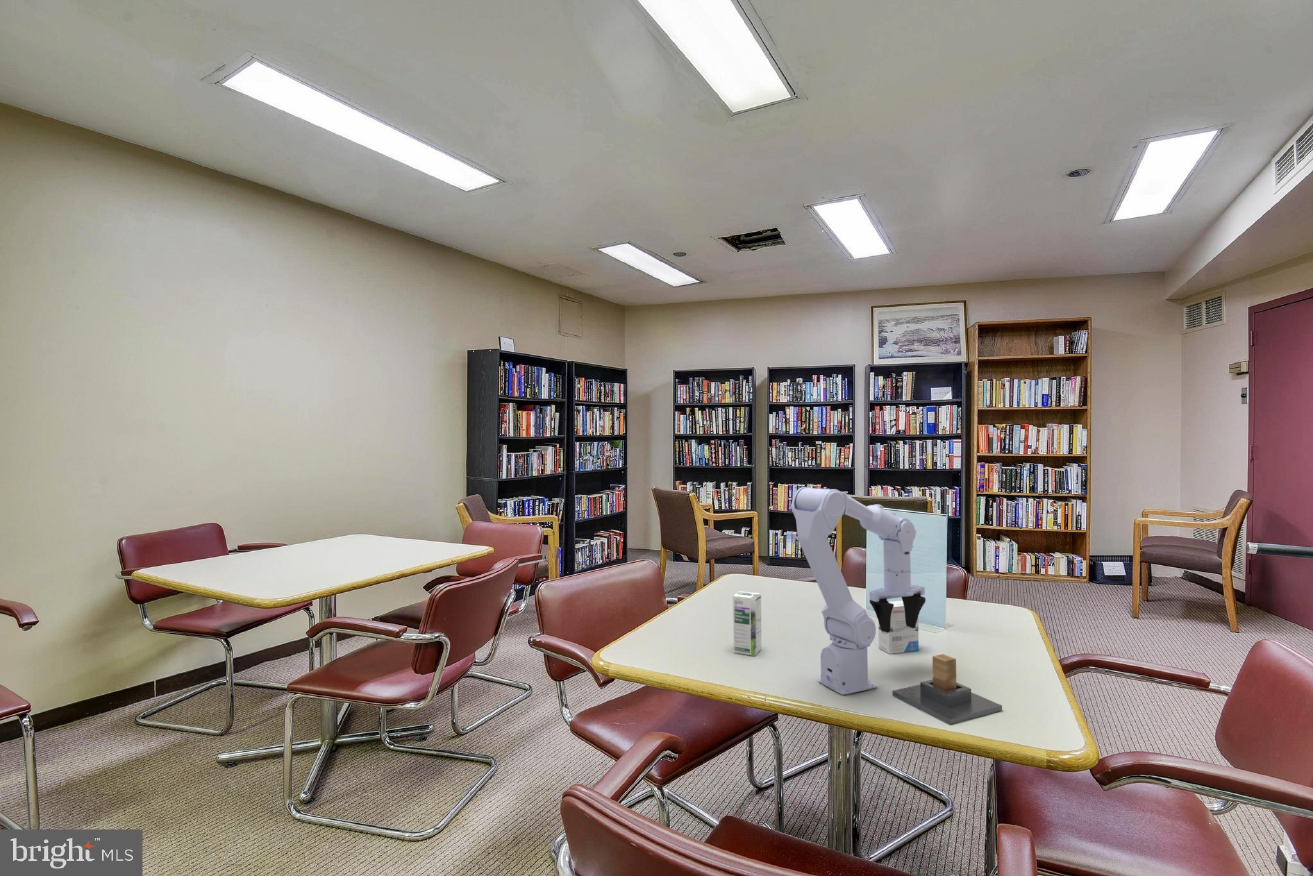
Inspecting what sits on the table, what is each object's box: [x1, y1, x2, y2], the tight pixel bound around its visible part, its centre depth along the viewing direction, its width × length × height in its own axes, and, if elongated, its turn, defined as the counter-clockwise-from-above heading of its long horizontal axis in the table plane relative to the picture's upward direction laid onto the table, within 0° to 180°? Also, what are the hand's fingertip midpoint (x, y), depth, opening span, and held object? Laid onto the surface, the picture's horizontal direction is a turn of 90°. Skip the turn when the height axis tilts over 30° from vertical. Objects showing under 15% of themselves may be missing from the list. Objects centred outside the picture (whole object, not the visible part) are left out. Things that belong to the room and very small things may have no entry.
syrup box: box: [732, 590, 762, 657], centre depth 150 cm, size 6×6×14 cm
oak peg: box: [932, 653, 957, 692], centre depth 119 cm, size 3×3×8 cm
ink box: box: [878, 599, 920, 655], centre depth 150 cm, size 9×5×12 cm, turn 106°
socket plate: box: [891, 678, 1003, 725], centre depth 119 cm, size 14×14×4 cm
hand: (898, 629), depth 136 cm, fingers open, 7 cm apart
